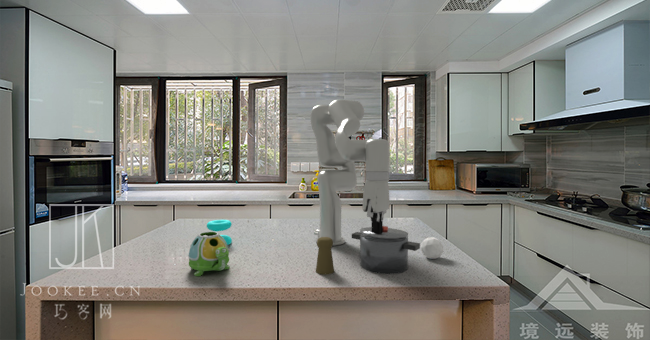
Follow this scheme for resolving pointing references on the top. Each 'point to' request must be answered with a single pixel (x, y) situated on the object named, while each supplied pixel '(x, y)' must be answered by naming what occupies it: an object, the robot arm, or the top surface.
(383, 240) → the pot
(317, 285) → the top surface
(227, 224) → the turquoise spool shape
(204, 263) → the turtle holder
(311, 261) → the top surface
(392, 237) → the lid
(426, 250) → the geometric ball
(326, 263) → the cork
